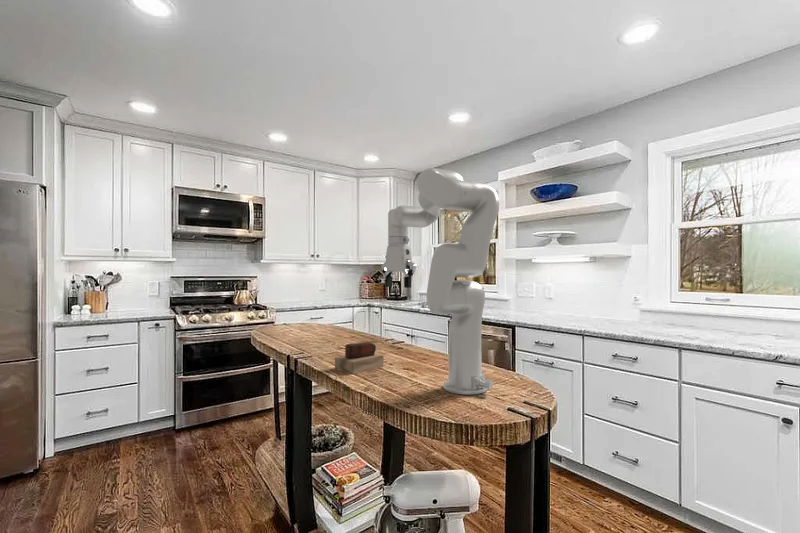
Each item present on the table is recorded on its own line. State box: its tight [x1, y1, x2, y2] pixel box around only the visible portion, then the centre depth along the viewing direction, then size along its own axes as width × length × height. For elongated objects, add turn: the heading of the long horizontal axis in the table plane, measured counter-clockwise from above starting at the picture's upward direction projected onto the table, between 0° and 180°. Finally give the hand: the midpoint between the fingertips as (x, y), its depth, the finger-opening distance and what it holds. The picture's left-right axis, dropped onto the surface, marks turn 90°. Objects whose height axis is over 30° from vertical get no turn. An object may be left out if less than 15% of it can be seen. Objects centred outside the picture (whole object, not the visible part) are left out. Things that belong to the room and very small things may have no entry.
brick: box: [344, 341, 377, 359], centre depth 144 cm, size 11×4×5 cm, turn 130°
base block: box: [334, 353, 384, 375], centre depth 144 cm, size 10×14×4 cm
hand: (398, 287), depth 153 cm, fingers open, 9 cm apart
